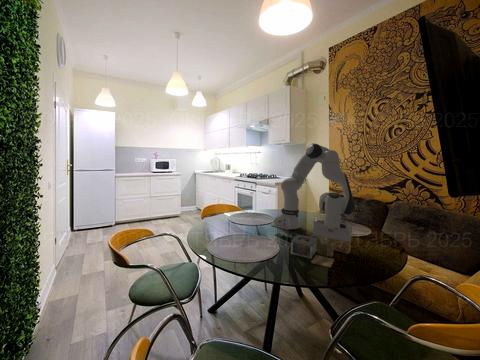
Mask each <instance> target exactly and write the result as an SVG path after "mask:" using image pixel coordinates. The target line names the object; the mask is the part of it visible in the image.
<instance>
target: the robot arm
mask: <svg viewBox="0 0 480 360" xmlns="http://www.w3.org/2000/svg"><path fill="white" fill-rule="evenodd" d="M317 163H320V164H321V173H322V176H323V178H325V179H327V180H329V181H331V182H334V183H337V184H338V185H339V186H341V189H342V194H343V196H342V195H341V194H339V193H337V192H329V193H327V194H326V196H324V197H323V198H322V199H321V210H322V211H323V212H324V216H323V217H324V218H323V220H319V219H315V220H314V221H312V222H313V223H312V225H313V230H312V234H313V237H314V236H315V237H318V238H319V240H320V244H321V245H324V244H325V240H323V238H326V239H328V238H331V239H336V240H341V244H339V245H338V247H339V248H341V247H342V244H343V243H344V241H347V242H350V241H351V242H352V235H351V229H350V228H349V227H351V226H350V222H348V221H345V220H344V219H342V216H341V214H342V215H347V216H350V215H352V214H353V213H354V212H356V203H355V199H354V197H353V194H352V189H351V186H350V182H349V178H348V175H347V174H346V173H345V172H343V170H342V168H341V161H340V156H339V154H338V152H337V151H336V150H333V149H329V148H327V147H326V146H323V145H320V144H318V143H311V144H310V145H308V146H307V148H306V150H305V153H303V155H302V156H301V158H300V159H299V160H298V162H297V164H296V165H295V167H294V168H293V171H292V174H291V176H290V177H288V178H286V179H284V180H282V182H281V184H280V188H281V190H282V192H283V199H284V202H283V203H284V204H283V208H281V209H280V213H279V214H278V215H275V217H274V220H273V221H272V222H270V226H272V227H275V228H279V229H283V230H287V231H288V230H296V229H299V228H301V227H300V217H299V216H300V211H299V210H300V209H299V203H300V200H299V197H298V191H299V190H300V189H301V188H302V186H303V184H304V183H305V181H306V178H307V177H308V176H309V174H310V172H311V171H312V169H314V166H315V165H316V164H317ZM328 229H331V230H334V232H328Z"/></svg>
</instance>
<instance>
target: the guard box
mask: <svg viewBox="0 0 480 360" xmlns="http://www.w3.org/2000/svg"><path fill="white" fill-rule="evenodd" d="M302 240H305V241H308V242H305V241H302ZM300 244H301V245H306V246H308V248H301V247H300ZM317 244H318V238H317V237H314V236H307V235H302V234H298V233H297V234H296V235H295V236H294V237H293V238H292V239H291V240H290V255H294V256H299V257H303V258H306V259H311V260H313V258H314V256H315V255H316V253H317V247H318V245H317Z"/></svg>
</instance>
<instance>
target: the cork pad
mask: <svg viewBox="0 0 480 360" xmlns="http://www.w3.org/2000/svg"><path fill="white" fill-rule="evenodd" d="M334 262H335V258H332V257H328V256H327V257H326V256H322V255H318V254H314V256H313V257H312V259H311V262H310V263H311V264H313V265H317V266H321V267H326V268H332V267H333V264H334Z"/></svg>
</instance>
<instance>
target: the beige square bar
mask: <svg viewBox="0 0 480 360" xmlns="http://www.w3.org/2000/svg"><path fill="white" fill-rule="evenodd" d="M328 232H334V230H331V229H328ZM326 244H327V245H326V256H327V257H329V258H333V256H334V250H333V249H334V239H331V238H327V243H326Z"/></svg>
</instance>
